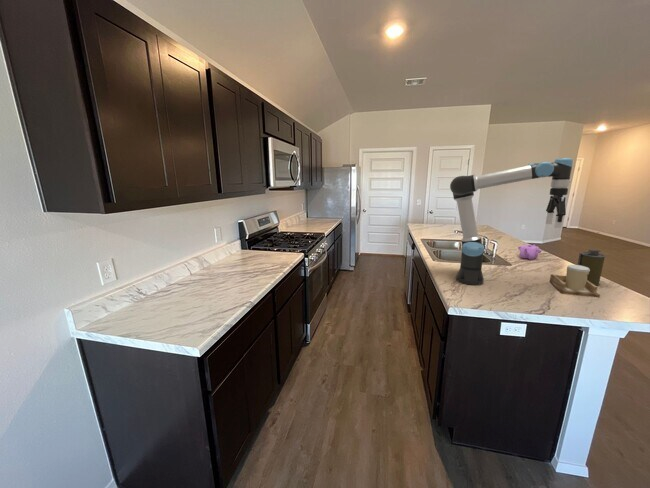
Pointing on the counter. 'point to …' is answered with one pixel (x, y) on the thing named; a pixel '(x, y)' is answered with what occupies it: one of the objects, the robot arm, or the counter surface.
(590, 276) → the canister
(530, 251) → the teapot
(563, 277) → the dock
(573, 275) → the coffee cup
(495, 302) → the counter surface
